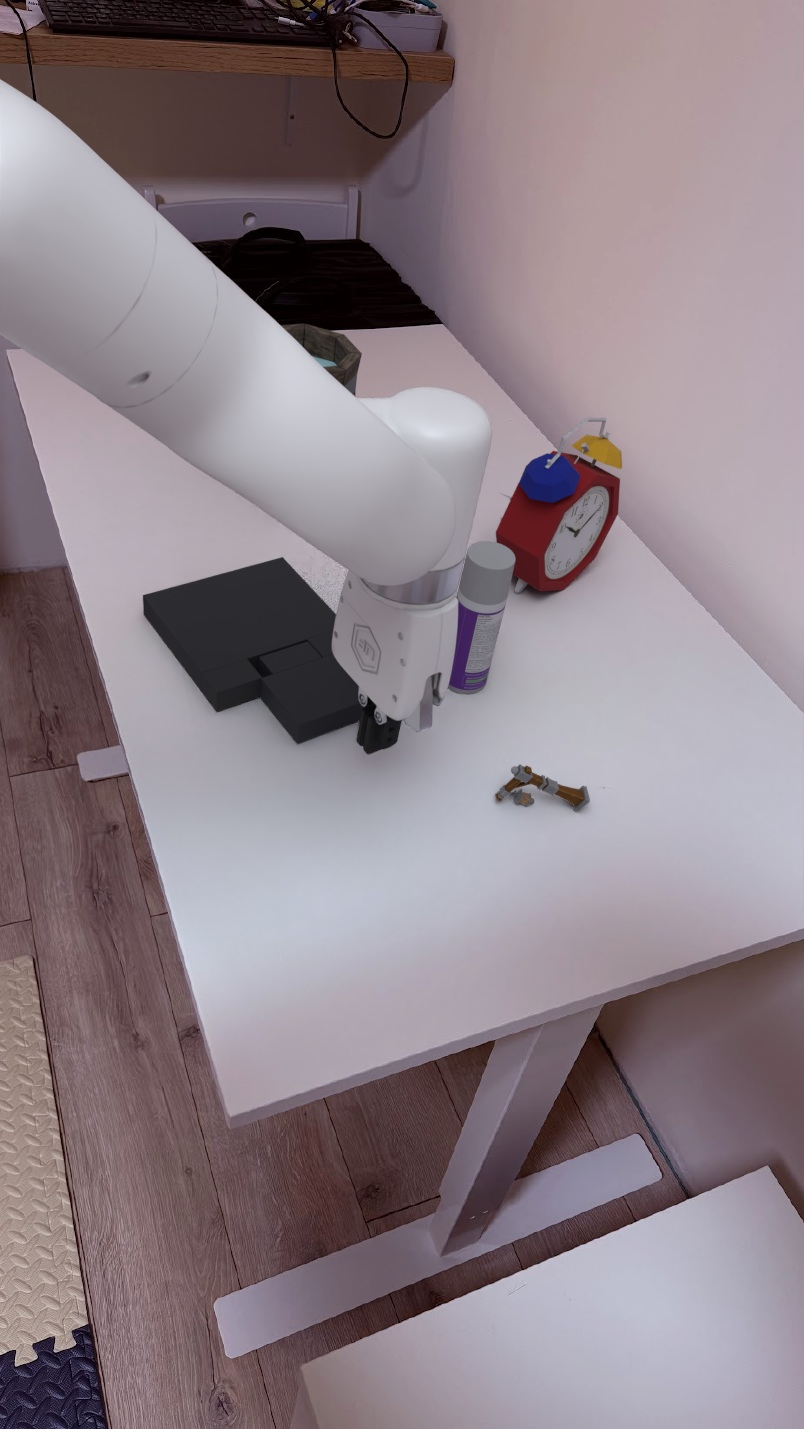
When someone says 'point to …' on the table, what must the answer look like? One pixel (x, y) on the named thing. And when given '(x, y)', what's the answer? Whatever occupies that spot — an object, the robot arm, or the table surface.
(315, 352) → the mug
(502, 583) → the container
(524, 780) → the brown jointed two-tone fixture
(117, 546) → the table surface
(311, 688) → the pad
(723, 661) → the table surface
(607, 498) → the alarm clock
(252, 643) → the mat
